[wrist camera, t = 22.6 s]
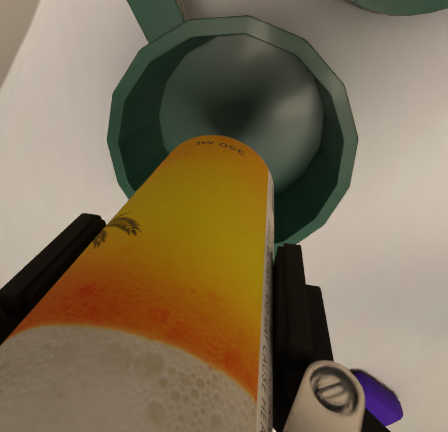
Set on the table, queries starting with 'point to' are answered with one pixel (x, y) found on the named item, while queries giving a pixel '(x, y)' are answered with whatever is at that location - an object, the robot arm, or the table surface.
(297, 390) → the robot arm
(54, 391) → the beer can
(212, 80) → the pot
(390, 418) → the spray bottle
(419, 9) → the lid
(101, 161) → the table surface
